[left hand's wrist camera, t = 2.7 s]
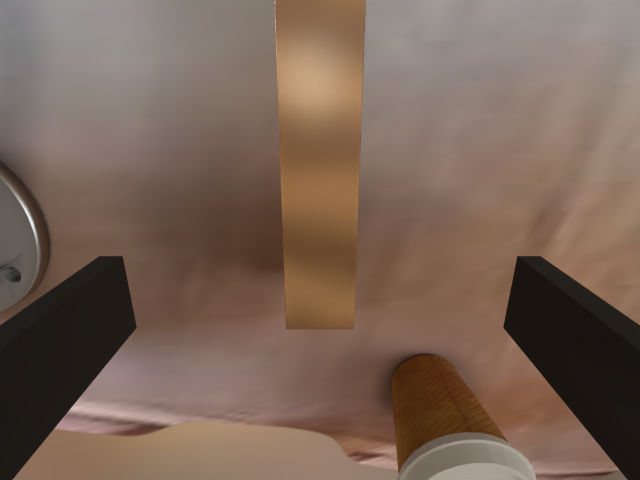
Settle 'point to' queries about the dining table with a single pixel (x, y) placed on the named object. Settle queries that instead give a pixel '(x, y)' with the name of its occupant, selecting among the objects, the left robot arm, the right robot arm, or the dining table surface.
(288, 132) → the beam
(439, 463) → the disposable coffee cup
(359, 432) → the dining table surface
